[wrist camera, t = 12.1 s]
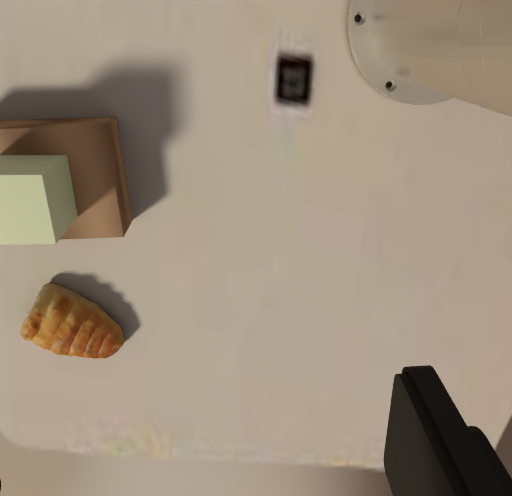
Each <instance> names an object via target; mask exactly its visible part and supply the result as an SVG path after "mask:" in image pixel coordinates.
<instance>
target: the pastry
mask: <svg viewBox="0 0 512 496" xmlns="http://www.w3.org/2000/svg"><path fill="white" fill-rule="evenodd" d="M20 334H21V336H22V337H23V338H24V339H25V340H30V341H32V342H33V343H35V344H36V345H38V346H40V347H42V348H44V349H48V350H51V351H52V352H53V353H55V354H58V355H69V356H79V357H85V358H107V357H109V356H111V355H113V354H114V353H115V352H117V351H118V350H119V349H120V347H122V345H123V343H124V337H123V333H122V329H121V327H120V326H119V324H118V323H117V322H116V321H114V320H113V319H111V318H110V317H109V316H108V315H107V313H105V312H104V311H103V310H102V308H101V307H100V306H99V305H98V304H97V303H96V302H91V301H89V300H88V299H87V298H85V297H83V296H81V295H79V294H77V293H76V292H74V291H72V290H70V289H67V288H65V287H63V286H60V285H57V284H51V283H48V284H45V285H44V286H43V287H42V288H41V290H40V291H39V293H38V295H37V297H36V301H35V303H34V305H33V308H32V309H31V310H30V311H29V312H28V313H27V316H26V318H25V320H24V322H23V325H22V329H21V331H20Z"/></svg>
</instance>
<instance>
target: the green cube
mask: <svg viewBox="0 0 512 496" xmlns="http://www.w3.org/2000/svg"><path fill="white" fill-rule="evenodd" d="M77 217H78V215H77V209H76V204H75V198H74V192H73V186H72V181H71V175H70V169H69V164H68V158H67V155H0V244H56V243H57V242H58V241H59V240H60V238H61V237H62V236H63V235H64V233H65V232H66V231H67V230H68V228H69V227H70V226H71V225H72V223H73V222H74V221H75V220H76V218H77Z"/></svg>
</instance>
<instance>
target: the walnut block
mask: <svg viewBox="0 0 512 496" xmlns="http://www.w3.org/2000/svg"><path fill="white" fill-rule="evenodd" d="M0 155H67V158H68V164H69V169H70V175H71V181H72V186H73V192H74V198H75V204H76V209H77V215H78V217H77V218H76V220H75V221H74V222H73V223H72V225H71V226H70V227H69V228H68V230H67V231H66V232H65V233H64V235H63V236H62V237H61V238H60V239H82V238H108V237H124V235H125V233H126V231H127V229H128V228H129V226H130V224H131V222H132V213H131V207H130V201H129V194H128V188H127V182H126V175H125V169H124V163H123V156H122V150H121V144H120V137H119V131H118V125H117V118H116V117H93V118H62V119H30V120H0Z"/></svg>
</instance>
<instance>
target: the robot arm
mask: <svg viewBox="0 0 512 496" xmlns="http://www.w3.org/2000/svg"><path fill="white" fill-rule="evenodd" d="M356 15H359V16H360V21H359V22H355V20H354V18H355V16H356ZM346 29H347V41H348V45H349V49H350V52H351V56H352V58H353V60H354V63H355V65H356V67H357V69H358V71H359V72H360V73H361V75H362V76H363V77H364V79H365V80H366V81H367V83H369V84H370V85H371V86H372V87H373V88H374V89H376V90H377V91H378V92H379V93H381V94H383V95H385V96H387V97H389V98H391V99H394V100H396V101H399V102H401V103H408V104H414V105H423V104H433V103H438V102H442V101H446V100H448V99H451V98H453V97H454V98H457V99H460V100H463V101H466V102H469V103H472V104H475V105H478V106H481V107H483V108H486V109H489V110H492V111H495V112H498V113H502V114H505V115H508V116H511V117H512V0H349V2H348V7H347V18H346ZM387 82H390V84H391V85H390V87H389V88H386V83H387ZM384 467H385V472H386V476H387V478H388V482H389V484H390V488H391V491H392V493H393V496H512V479H511V477H510V475H509V474H508V472H507V470H506V469H505V467H504V466H503V464H502V462H501V461H500V459H499V457H498V456H497V454H496V452H495V451H494V449H493V447H492V446H491V444H490V442H489V441H488V439H487V437H486V436H485V435H484V433H483V432H482V431H481V430H480V429H479V428H478V427H475V426H467V425H466V423H465V422H464V420H463V418H462V416H461V415H460V413H459V411H458V410H457V408H456V406H455V404H454V403H453V401H452V399H451V397H450V396H449V394H448V392H447V390H446V389H445V387H444V385H443V383H442V382H441V380H440V378H439V376H438V375H437V373H436V371H435V370H434V368H433V367H432V366H430V365H429V366H411V367H404V368H403V370H402V374H396V375H395V377H394V383H393V391H392V398H391V406H390V413H389V421H388V428H387V436H386V444H385V451H384ZM0 490H1V481H0Z"/></svg>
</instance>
